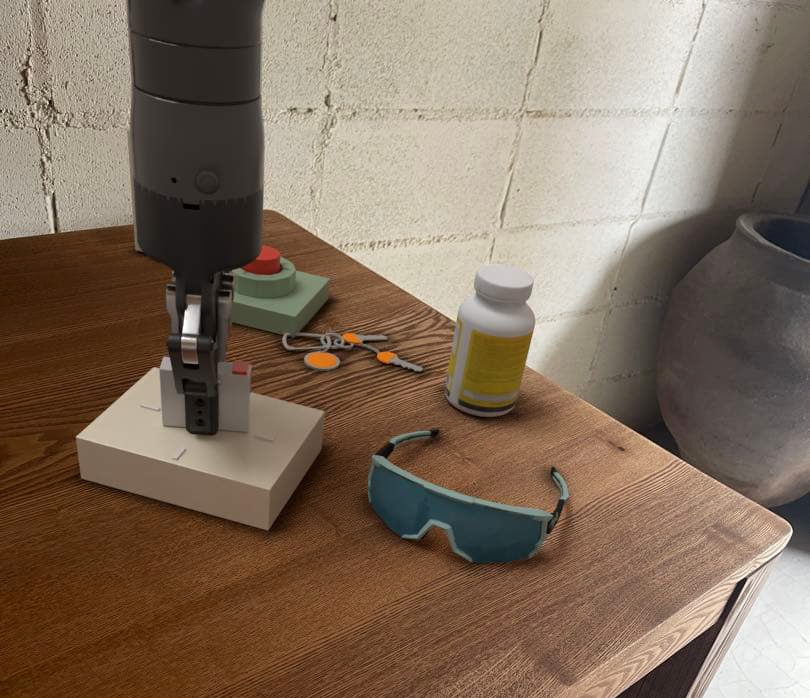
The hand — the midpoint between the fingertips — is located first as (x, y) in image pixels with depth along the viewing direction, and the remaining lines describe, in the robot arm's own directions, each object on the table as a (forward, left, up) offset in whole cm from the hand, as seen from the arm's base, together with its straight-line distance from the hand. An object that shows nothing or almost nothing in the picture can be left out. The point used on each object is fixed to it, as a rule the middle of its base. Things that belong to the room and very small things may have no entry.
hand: (204, 421), depth 61 cm
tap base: (0, 0, -4) cm, 4 cm away
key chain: (+4, +22, -4) cm, 23 cm away
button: (-7, +27, 0) cm, 28 cm away
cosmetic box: (-21, +35, -4) cm, 41 cm away
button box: (-7, +27, -4) cm, 28 cm away
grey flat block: (0, 0, 0) cm, 0 cm away
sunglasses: (+19, +4, -4) cm, 20 cm away
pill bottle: (+17, +19, -4) cm, 26 cm away
